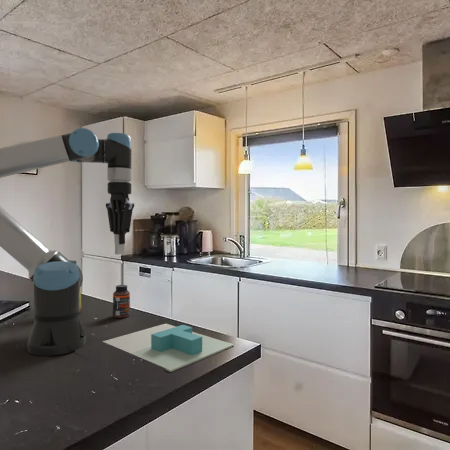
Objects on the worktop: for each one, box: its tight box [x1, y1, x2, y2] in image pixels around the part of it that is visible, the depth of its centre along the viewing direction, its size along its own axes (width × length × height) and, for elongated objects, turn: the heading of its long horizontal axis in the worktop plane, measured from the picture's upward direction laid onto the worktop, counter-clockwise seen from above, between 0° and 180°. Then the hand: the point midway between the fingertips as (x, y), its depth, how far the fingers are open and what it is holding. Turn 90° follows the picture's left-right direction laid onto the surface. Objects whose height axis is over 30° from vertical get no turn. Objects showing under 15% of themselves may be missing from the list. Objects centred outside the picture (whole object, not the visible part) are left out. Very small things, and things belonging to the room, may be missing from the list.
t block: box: [151, 324, 202, 355], centre depth 108 cm, size 12×12×4 cm
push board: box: [102, 323, 235, 373], centre depth 112 cm, size 24×30×1 cm
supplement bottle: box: [112, 284, 131, 319], centre depth 140 cm, size 6×6×11 cm
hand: (119, 254), depth 126 cm, fingers closed
